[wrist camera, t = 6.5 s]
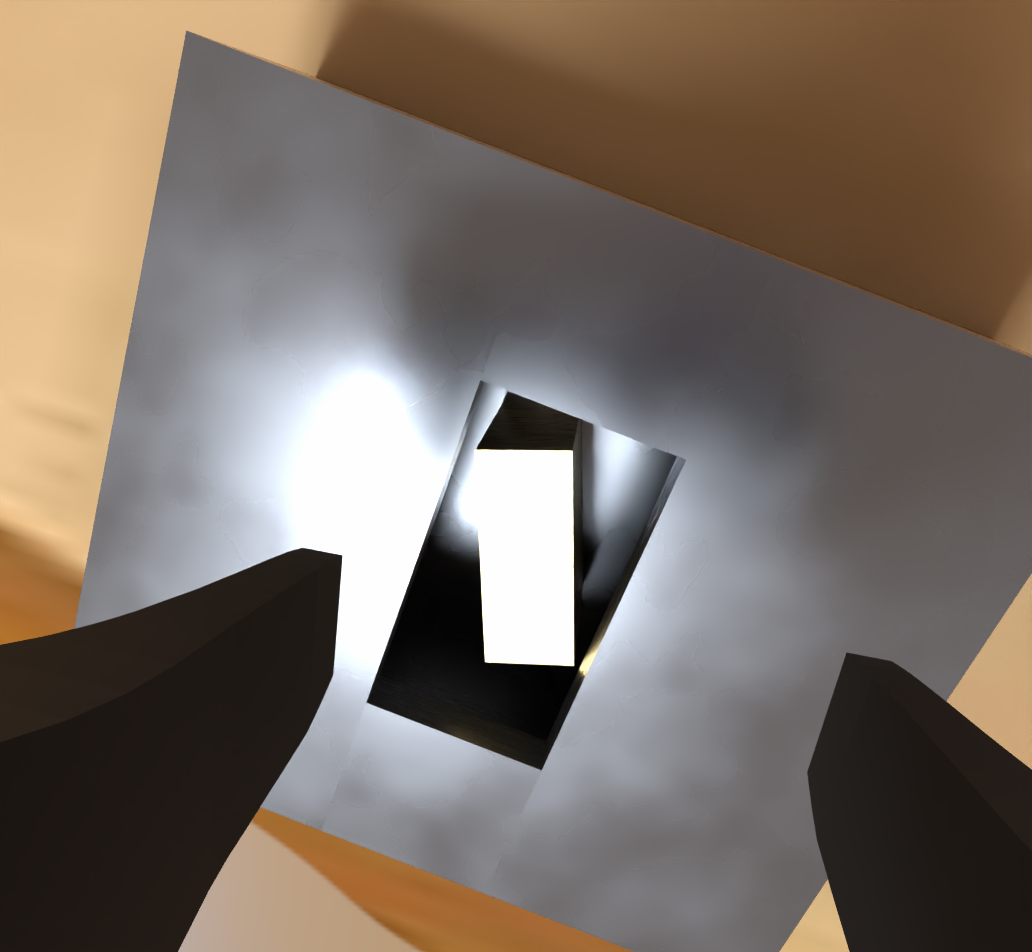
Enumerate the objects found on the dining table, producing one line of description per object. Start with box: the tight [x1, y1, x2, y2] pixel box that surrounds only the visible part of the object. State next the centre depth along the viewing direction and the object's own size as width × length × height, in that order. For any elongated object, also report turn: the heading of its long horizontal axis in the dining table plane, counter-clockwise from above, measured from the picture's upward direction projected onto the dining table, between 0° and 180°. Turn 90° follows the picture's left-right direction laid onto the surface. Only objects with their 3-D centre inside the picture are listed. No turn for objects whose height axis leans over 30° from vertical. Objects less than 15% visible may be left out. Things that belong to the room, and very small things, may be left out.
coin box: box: [74, 31, 1032, 952], centre depth 19 cm, size 17×15×6 cm
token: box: [475, 403, 583, 666], centre depth 20 cm, size 2×5×4 cm, turn 1°
